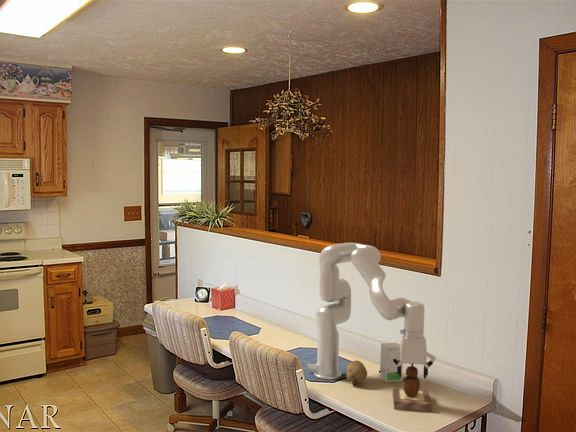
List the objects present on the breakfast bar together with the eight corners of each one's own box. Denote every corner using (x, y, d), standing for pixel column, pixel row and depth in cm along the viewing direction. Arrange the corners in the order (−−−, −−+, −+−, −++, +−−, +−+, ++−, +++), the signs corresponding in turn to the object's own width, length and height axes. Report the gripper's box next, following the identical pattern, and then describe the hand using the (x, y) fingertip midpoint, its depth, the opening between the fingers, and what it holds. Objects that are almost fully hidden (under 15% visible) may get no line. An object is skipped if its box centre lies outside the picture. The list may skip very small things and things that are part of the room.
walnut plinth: (394, 408, 209) (394, 400, 209) (392, 394, 223) (392, 386, 223) (431, 411, 207) (431, 403, 207) (427, 397, 221) (427, 389, 221)
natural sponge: (368, 381, 237) (369, 359, 236) (364, 388, 228) (365, 365, 228) (348, 378, 240) (348, 356, 239) (343, 385, 232) (344, 362, 231)
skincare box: (385, 382, 236) (386, 347, 234) (378, 377, 242) (379, 343, 241) (403, 381, 238) (404, 346, 237) (396, 375, 244) (397, 341, 243)
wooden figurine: (408, 390, 219) (409, 354, 218) (421, 394, 216) (422, 357, 215) (400, 395, 214) (401, 358, 213) (414, 399, 211) (415, 362, 209)
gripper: (391, 335, 211) (390, 378, 212) (437, 338, 208) (435, 381, 209) (390, 329, 218) (389, 371, 219) (435, 332, 215) (433, 374, 217)
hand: (412, 376), depth 214 cm, fingers open, 9 cm apart
